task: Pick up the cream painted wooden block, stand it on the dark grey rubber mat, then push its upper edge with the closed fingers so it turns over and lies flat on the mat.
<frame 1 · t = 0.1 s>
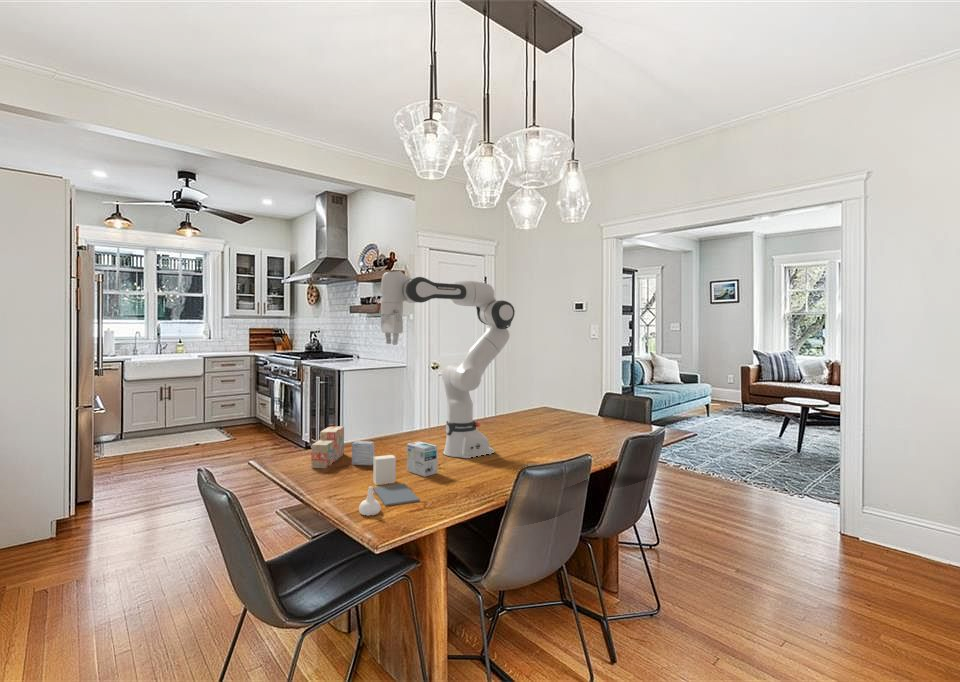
hand: (391, 344, 200), 48 cm above the table, tool pointing down, fingers open, 8 cm apart
stack of blocks: (328, 461, 201), on the table
medicine box: (363, 464, 197), on the table
light bulb box: (421, 472, 187), on the table
cream block: (384, 482, 174), on the table
garlic bulb: (369, 513, 146), on the table
rubber mat: (395, 495, 161), on the table
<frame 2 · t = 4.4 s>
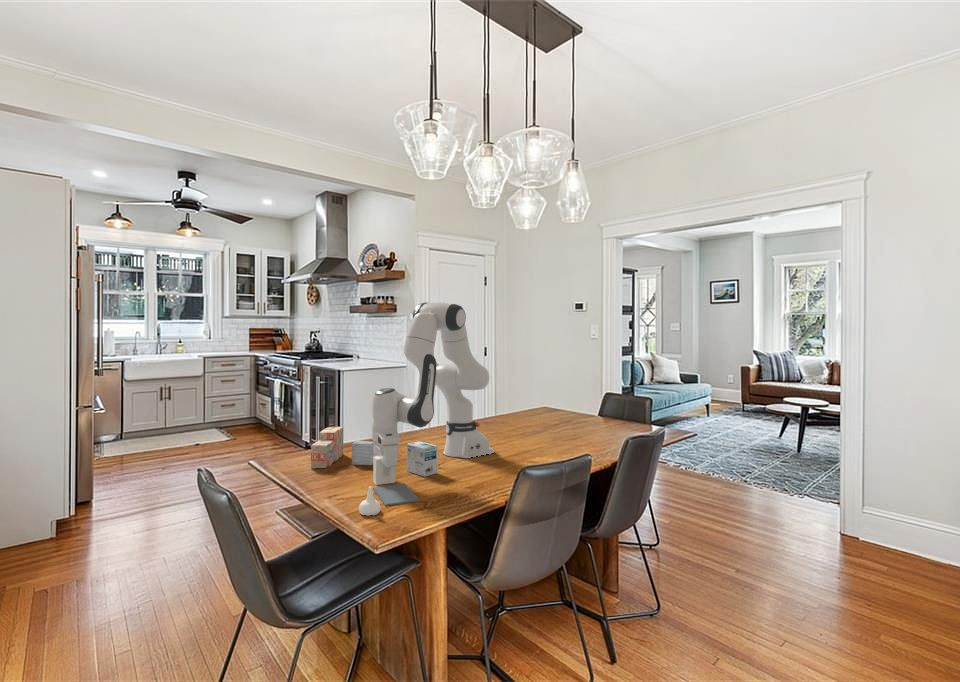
hand: (384, 473, 174), 3 cm above the table, tool pointing down, fingers closed on cream block, 4 cm apart
cream block: (384, 482, 174), on the table, touching gripper
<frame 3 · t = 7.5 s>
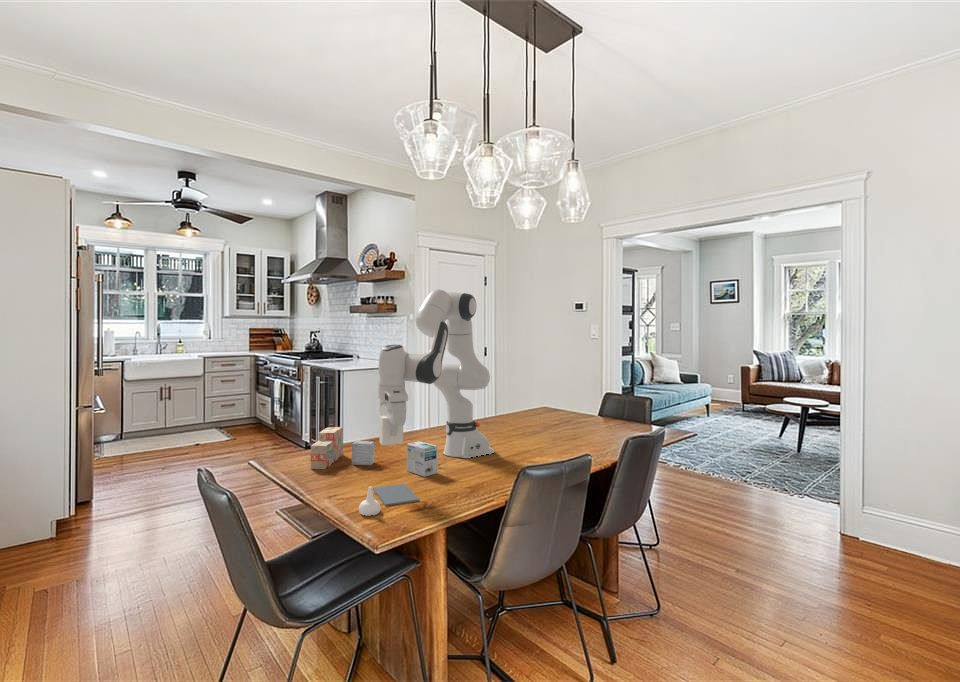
hand: (391, 434, 166), 19 cm above the table, tool pointing down, fingers closed on cream block, 4 cm apart
cream block: (391, 443, 166), point 16 cm above the table, touching gripper
when the fingers open (5 cm above the table, at t = 10.5 s): cream block drops 1 cm, resting on rubber mat.
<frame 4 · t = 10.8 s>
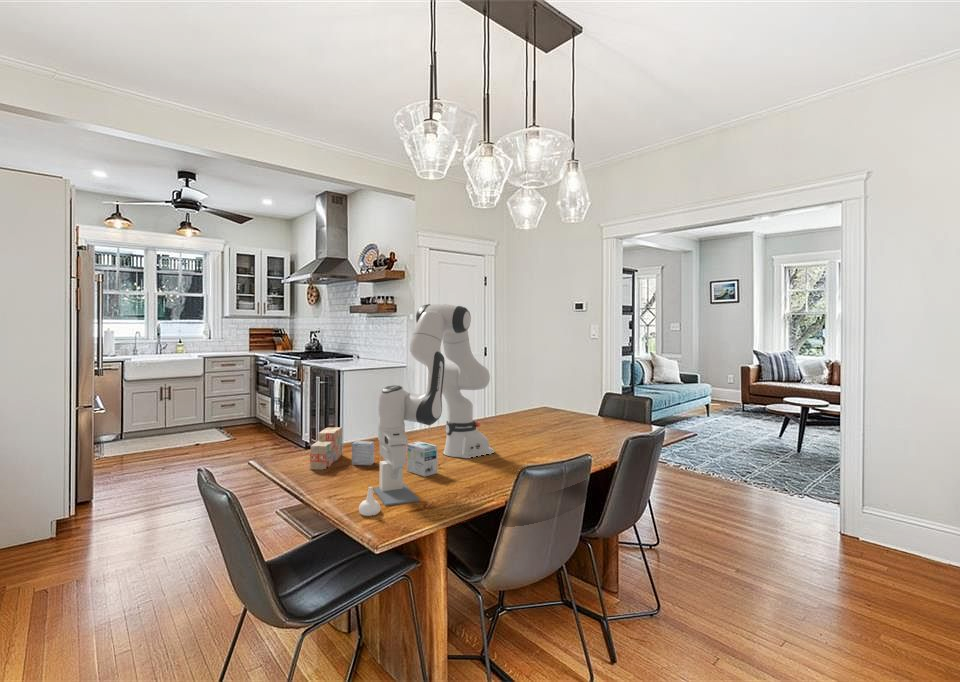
hand: (391, 474, 166), 5 cm above the table, tool pointing down, fingers open, 7 cm apart
cream block: (391, 488, 166), point 1 cm above the table, touching rubber mat
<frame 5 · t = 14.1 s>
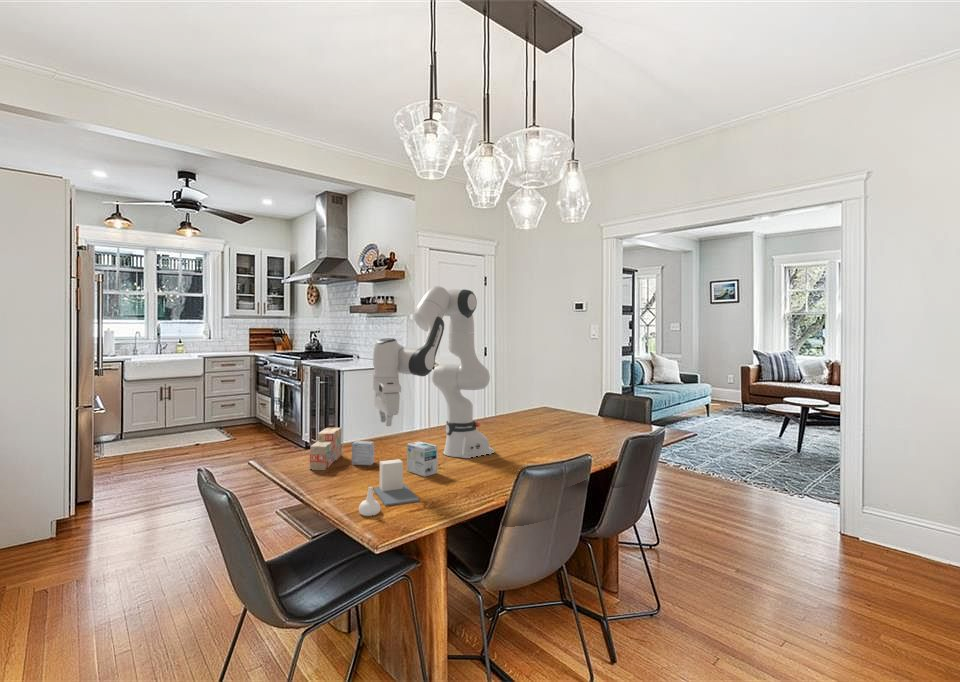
hand: (385, 423, 173), 21 cm above the table, tool pointing down, fingers open, 6 cm apart
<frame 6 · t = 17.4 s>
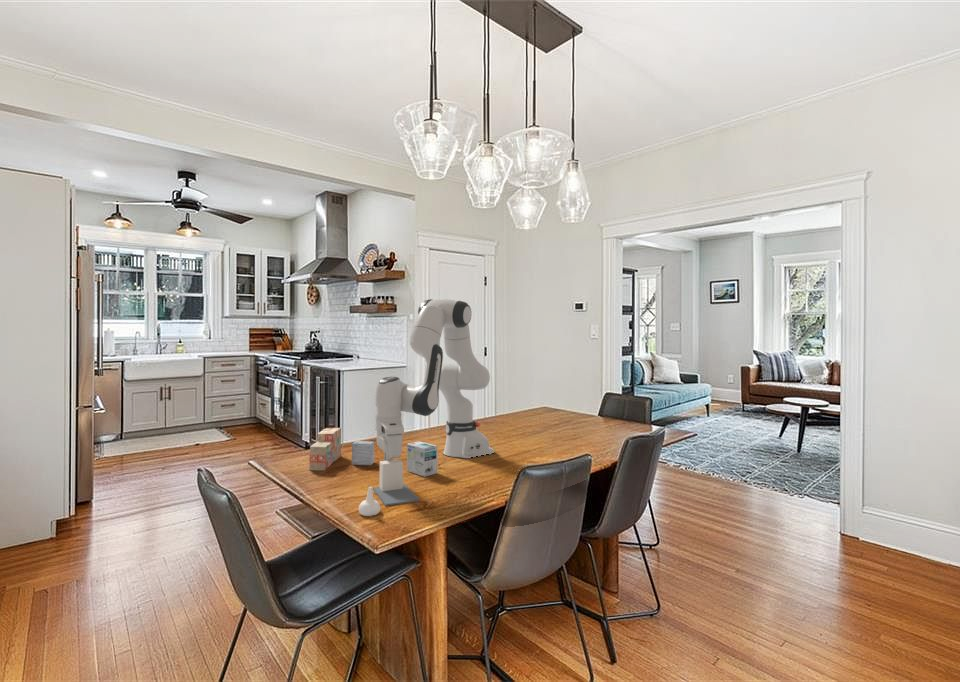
hand: (388, 464, 169), 8 cm above the table, tool pointing down, fingers closed
cream block: (391, 488, 166), point 1 cm above the table, touching gripper, rubber mat
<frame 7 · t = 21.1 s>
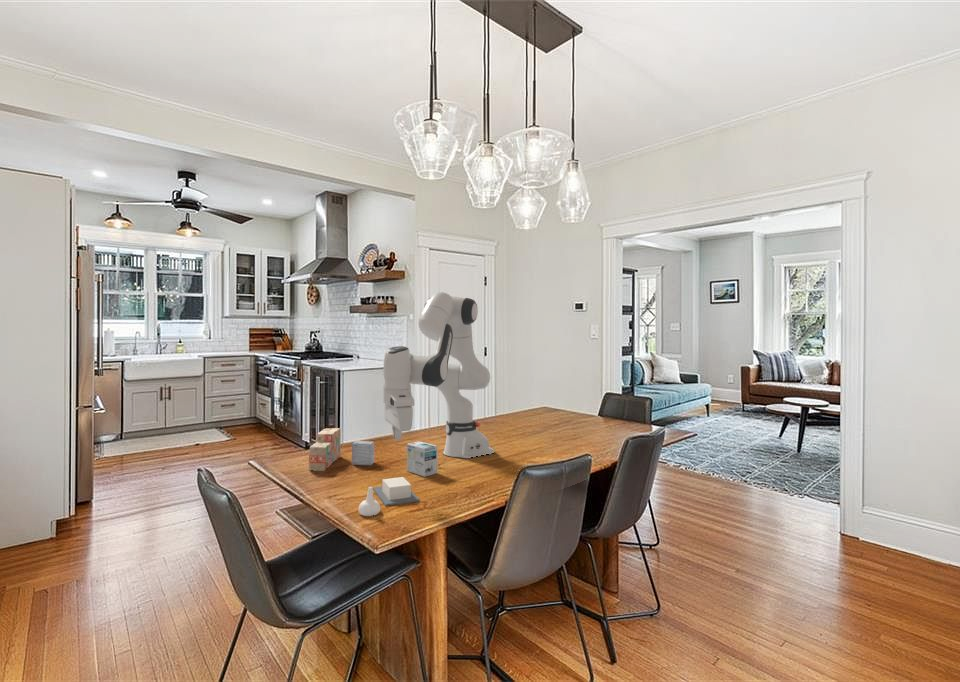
hand: (397, 439, 160), 19 cm above the table, tool pointing down, fingers closed
cream block: (392, 484, 164), point 3 cm above the table, tilted 90°, touching rubber mat
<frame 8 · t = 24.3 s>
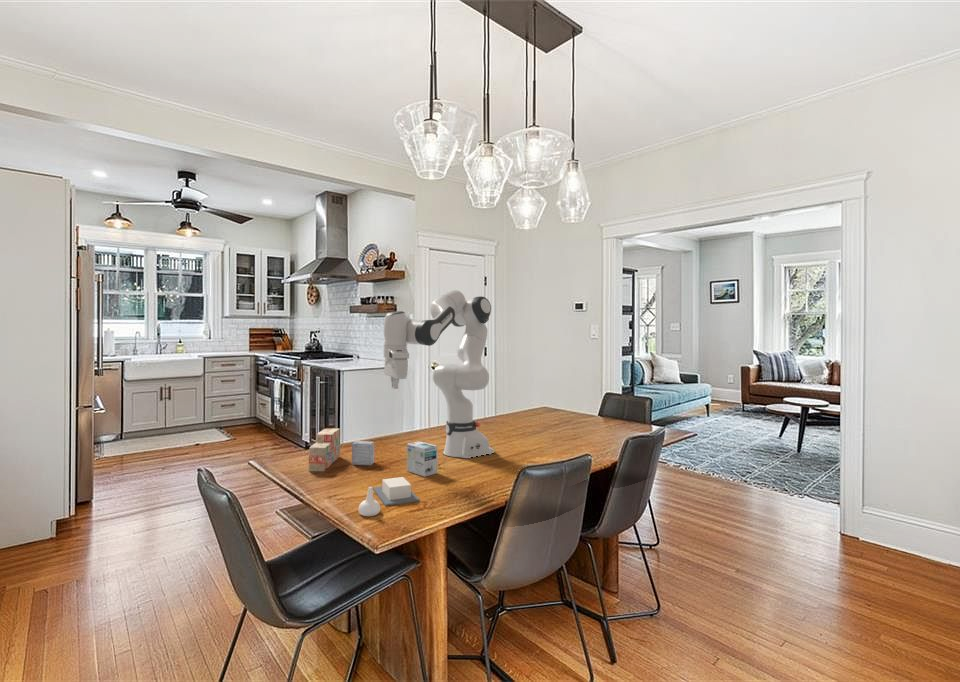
hand: (394, 388, 191), 31 cm above the table, tool pointing down, fingers closed
at the end: cream block tilted 90°; cream block inside the target area (3.5 cm from its centre), point 2.6 cm above the table; the gripper is holding nothing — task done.
